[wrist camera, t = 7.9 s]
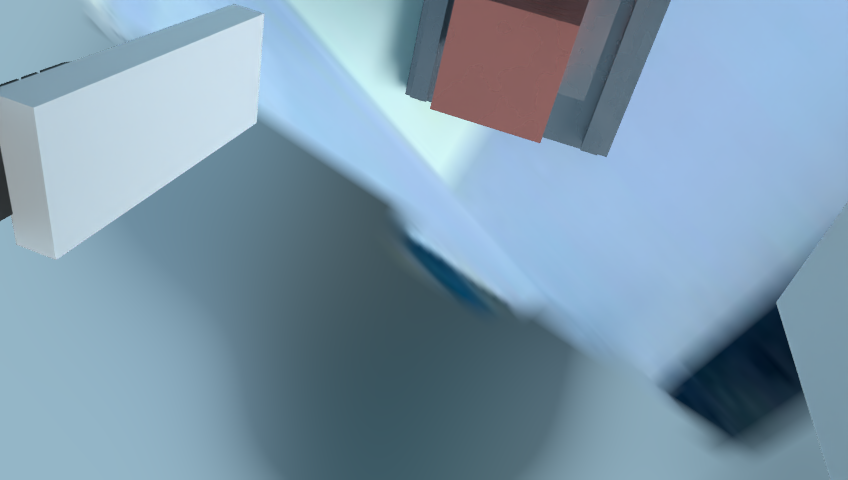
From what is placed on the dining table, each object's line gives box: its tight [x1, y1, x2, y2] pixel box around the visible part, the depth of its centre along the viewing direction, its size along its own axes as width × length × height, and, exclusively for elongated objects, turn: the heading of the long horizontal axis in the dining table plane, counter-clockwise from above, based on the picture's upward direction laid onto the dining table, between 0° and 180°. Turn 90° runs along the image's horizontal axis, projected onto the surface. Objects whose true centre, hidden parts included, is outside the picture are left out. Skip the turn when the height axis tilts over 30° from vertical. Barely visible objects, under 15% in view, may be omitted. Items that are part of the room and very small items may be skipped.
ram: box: [430, 0, 621, 143], centre depth 30 cm, size 8×8×11 cm
